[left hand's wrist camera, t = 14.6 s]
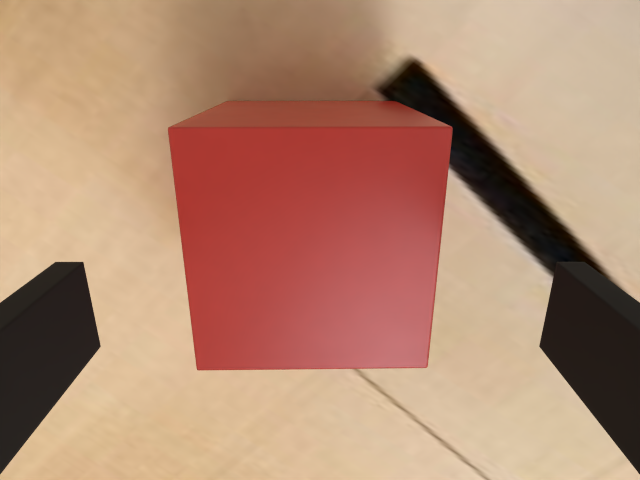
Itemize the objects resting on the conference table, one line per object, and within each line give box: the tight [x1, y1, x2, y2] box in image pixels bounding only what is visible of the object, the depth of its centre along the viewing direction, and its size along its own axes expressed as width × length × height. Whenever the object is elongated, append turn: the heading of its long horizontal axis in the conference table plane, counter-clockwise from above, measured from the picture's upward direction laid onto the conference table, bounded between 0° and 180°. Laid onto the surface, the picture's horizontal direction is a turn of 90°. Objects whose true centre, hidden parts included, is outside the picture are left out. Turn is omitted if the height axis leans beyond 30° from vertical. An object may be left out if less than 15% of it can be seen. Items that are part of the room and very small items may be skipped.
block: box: [168, 101, 452, 370], centre depth 20 cm, size 9×9×10 cm
